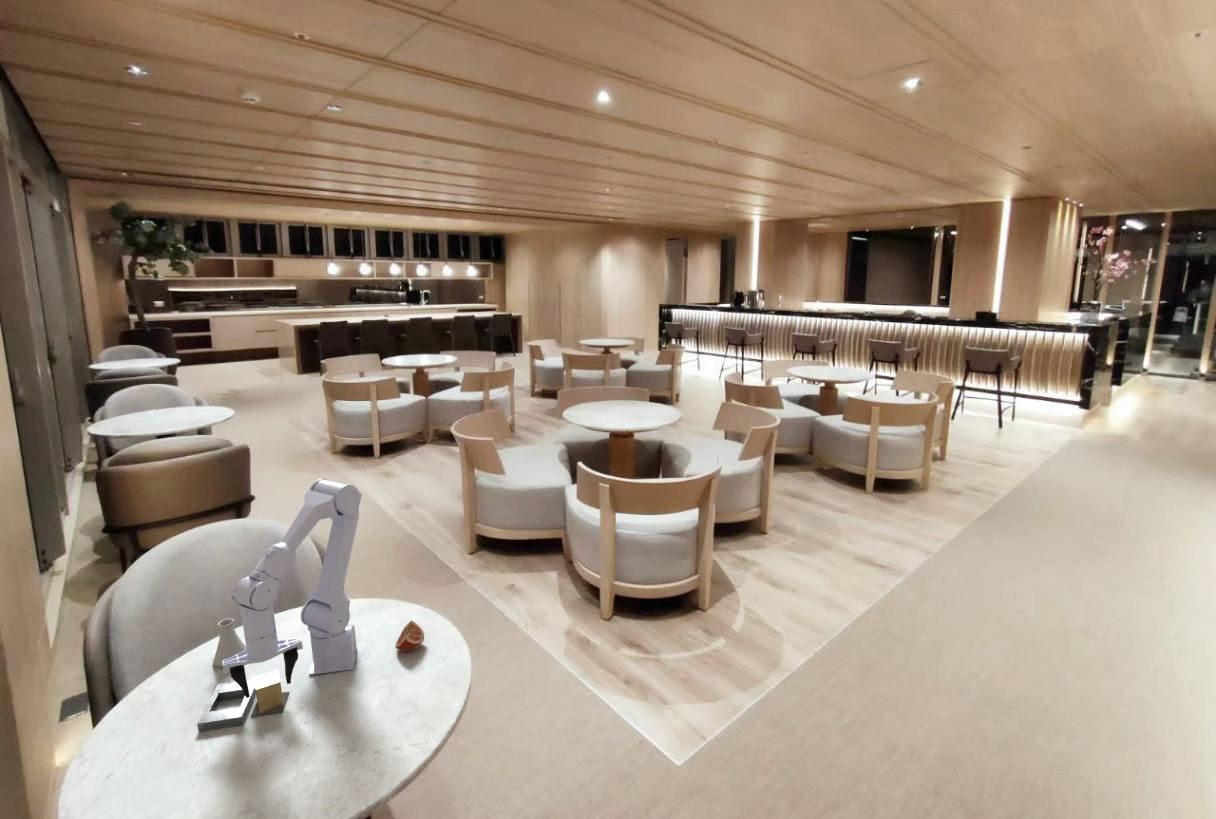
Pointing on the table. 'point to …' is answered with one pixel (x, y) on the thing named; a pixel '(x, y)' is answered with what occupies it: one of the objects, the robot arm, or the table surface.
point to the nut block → (268, 691)
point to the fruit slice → (410, 637)
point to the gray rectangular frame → (227, 716)
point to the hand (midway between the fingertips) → (268, 688)
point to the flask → (227, 642)
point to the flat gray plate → (277, 710)
